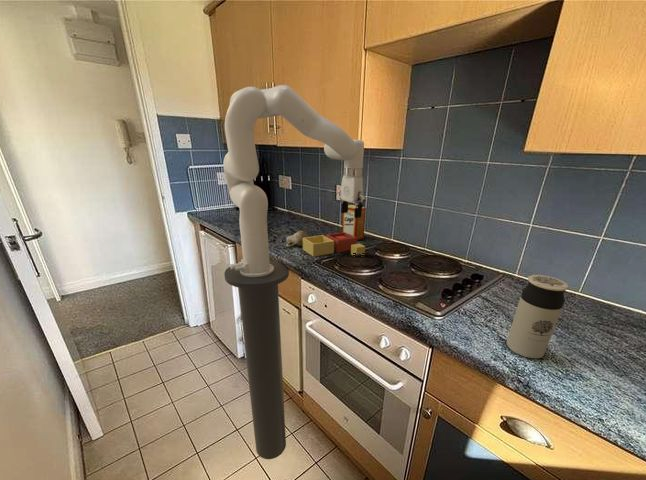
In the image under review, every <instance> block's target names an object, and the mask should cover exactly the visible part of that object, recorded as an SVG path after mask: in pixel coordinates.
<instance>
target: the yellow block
mask: <svg viewBox="0 0 646 480" xmlns="http://www.w3.org/2000/svg"><path fill="white" fill-rule="evenodd" d="M353 253H356V254H361V255H366V245H365V244H362V243H357V244H353V245H351V250H350V255H351V256H353V255H355V254H353ZM362 253H365V254H362Z"/></svg>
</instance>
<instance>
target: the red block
mask: <svg viewBox="0 0 646 480" xmlns="http://www.w3.org/2000/svg"><path fill="white" fill-rule="evenodd" d="M335 239H337V240H342V239H348V238H347V237H345V236H337V237H335Z"/></svg>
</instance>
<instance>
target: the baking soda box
mask: <svg viewBox="0 0 646 480" xmlns="http://www.w3.org/2000/svg"><path fill="white" fill-rule="evenodd" d="M355 208H356V206H355V204H348V212H347V213H341V214H342V216H341V217H342V219H341V233H342V232H346V233H348V234H350V235H352V236H354V237H357V241H360V240H364V238H365V227H366V213H367V207H364V206H363V208H362V212H361V217H359V218H355V217H354V212H355Z"/></svg>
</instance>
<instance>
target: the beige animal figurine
mask: <svg viewBox="0 0 646 480" xmlns="http://www.w3.org/2000/svg"><path fill="white" fill-rule="evenodd" d="M305 237H309V236H308V233H307V231H305V230H299V231H296V233H294V234H292V235H288V236H287V237H286V245H285V246H286V247H287V248H291V247H294V246H299V247H303V238H305Z"/></svg>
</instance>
